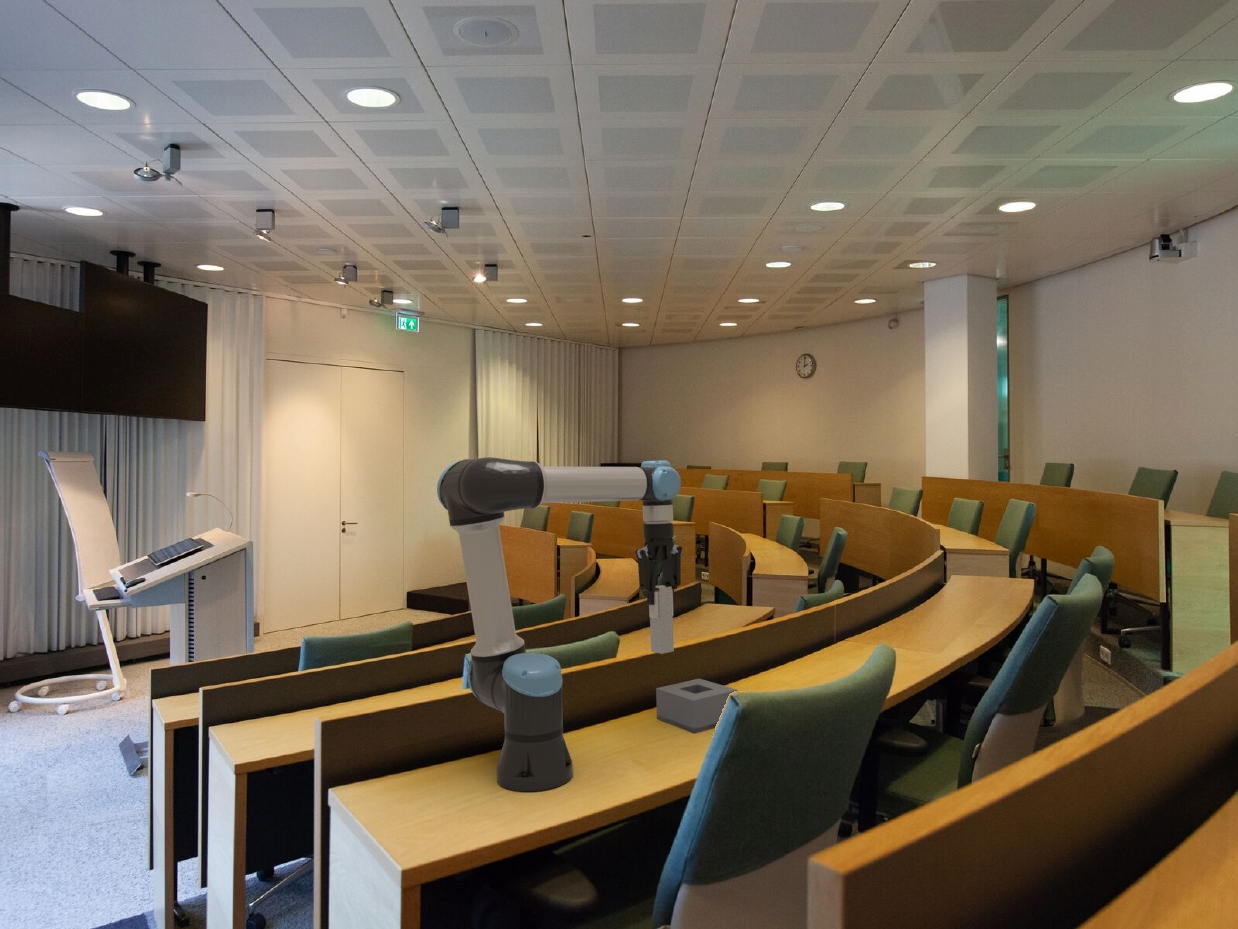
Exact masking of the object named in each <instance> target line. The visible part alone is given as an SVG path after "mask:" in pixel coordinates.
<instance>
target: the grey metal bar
mask: <svg viewBox="0 0 1238 929" xmlns="http://www.w3.org/2000/svg"><path fill="white" fill-rule="evenodd" d="M655 591H656V592H658V612H659V618H657V619H656V618H650V617H649V623H650V624H649V626H650V628H649V629H650V630H649V631H650V652H653V653H657V654H660V655H663V654H668V653H672V652H674V651H675V650H674V648H675V647H674V645H675V643H674V618H673V617H674V612H673V613H672V587H671V586H666V585H663V584H661V585H656V587H655Z"/></svg>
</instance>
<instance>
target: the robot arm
mask: <svg viewBox="0 0 1238 929" xmlns="http://www.w3.org/2000/svg"><path fill="white" fill-rule="evenodd" d="M681 486H682V480H681V476H680V474H679V472H678V471H677V470H676V469H675V468H674V467H672V465H671V462H670V461H668V460H645V461H642V463H641V466H639V467H638V466H542V465H541V464H540V463H539V462H537V461H534V460H533V461H526V460H515V459H506V458H500V457H491V456H490V457H480V458H479V457H478V458H471V459H470V458H468V459H466V458H465V459H462V460H458V461H457V462H454V463H451V464H450V465H448V466H447V467H446V468H445V470H443V471H442V472H441V475H440V476H439V479H438V482H437V486H436V493H437V497H438V500H439V502H440V504H441V505H442V506H443V508H444V509H445V510H446V511H447V516H448V520H449V521H448V522H449V526H450V528H451V529H452V530H455V532H457V534H458V537H459V543H460V549H461V555H462V560H463V561H462V562H463V568H464V574H465V580H466V586H467V587H466V588H467V592H468V599H469V604H470V611H471V617H472V623H473V630H474V636H475V644H474V646H472V648H471V650H470V656H471V663H470V664H469V666H468V670H467V683H468V688H469V689H470V691H471V693H472V694H473V695H474V697H476V699H478V701H479V702H481V703H482V704H484V705H486V706H487V707H490V708H493V709H495V710H497V711H499V712H500V713H502V714H503V715H504V718H503V719H504V722H503V723H504V742H503V745H502V749H501V751H500V755H499V759H498V763H497V766H496V781H497V783H498V784H499V786H501V788H502V787H503V788H504V789H506V790H507V789H508V790H512V791H517V792H518V791H519V792H540V791H546V790H551V789H554V788H557V787H560V786H562V785H565V784H566V783H568V782H569V781H570V780H571V779H572V778H573V775H574V769H573V768H574V767H573V761H572V758H571V754H570V751H569V749H568V745H567V744H566V743H567V742H566V739H565V737H564V723H563V722H564V721H563V720H564V719H563V717H564V716H563V714H564V713H563V682H564V681H563V676H562V668H561V664H560V662H559V661H558V660H557V659H556V658H555V657H552V656H551V655H547V654H544V653H540V654H539V653H538V652H527V650H526V644H525V640H524V639H523V638H522V637H520V635H518V634H517V632H516V625H515V619H514V613H513V607H512V606H513V605H512V600H511V594H510V588H509V582H508V577H507V576H508V574H507V569H506V563H505V562H506V561H505V557H504V549H503V543H502V538H501V530H500V526H501V523H502V522H503V520H505V518H506V517H505V512H509V511H510V512H511V511H516V510H524V509H537V508H539V506H541V504H550V503H552V504H554V503H558V504H559V503H584V502H585V503H586V502H587V503H591V502H620V501H621V502H623V501H625V502H627V501H630V502H631V501H642V521H643V522H644V524H643V538H644V540H645V542H644V545H643V547H642V548H641V549H636V550H635V556H636V558H637V568H638V581H639V582H638V583H639V586H638V587H639V589H640V590H643V591H645V592H646V603H647V605H648V608H649V610H648V611H649V613H648V614H649V619H650V618H656V619H657V618H659V612H658V592H656V591H655V587H656V586H657V578H658V569H659V565H660V564H661V565H660V566H661V568H662V569H661V570H662V574H663V579H664V584H665V585H664V586H671V587H672V613H673V614H674V602H675V590H677V588H678V587H679V586H681V582H682V580H681V576H682V573H681V570H682V569H681V554H682V551H683V547H682V546H679V545H676V544H674V541H673V538H674V536H675V535H674V534H675V533H674V532H675V531H674V523H673V522H672V521H673V520H674V506H673V499H675V497H677V496H678V495H679V493H680V490H681Z"/></svg>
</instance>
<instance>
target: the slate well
mask: <svg viewBox="0 0 1238 929" xmlns="http://www.w3.org/2000/svg"><path fill="white" fill-rule="evenodd" d="M734 691H737V692H738V689H736V688H733V687H729V686H726V685H723V684H719V683H717V682H712V681H708V680H705V679H701V678H696V679H695V678H694V679H692V680H691V679H690V680H687V681H681V682H678V683H673V684H669V685H665V686H660V687H657V688H655V695H656V697H655V699H656V700H655V701H656V720H658V721H661V722H663V723H667V724H669V725H671V726H674V727H676V728H679V729H682V730H684V731H688V732H690V733H692V734H697V732H698V733H701V732H705V731H708V730H712V729H715V726H716V724H717V722H718V721H719V717H720V715H721V713H722V709H723V708H724V705H725V704H726V700H727V698H728V696H729V694H730V693H732V692H734Z"/></svg>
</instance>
